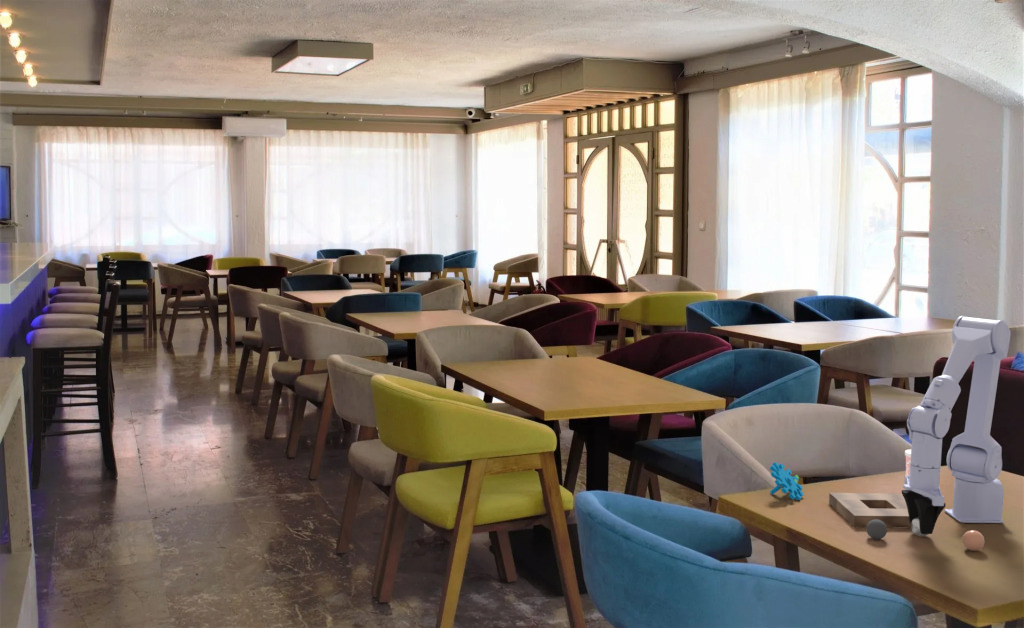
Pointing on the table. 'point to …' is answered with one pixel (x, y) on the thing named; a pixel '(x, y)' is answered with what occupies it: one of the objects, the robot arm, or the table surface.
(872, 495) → the wooden square frame
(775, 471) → the blue branched piece
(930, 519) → the robot arm
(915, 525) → the steel ball
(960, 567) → the table surface
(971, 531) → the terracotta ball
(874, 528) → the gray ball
